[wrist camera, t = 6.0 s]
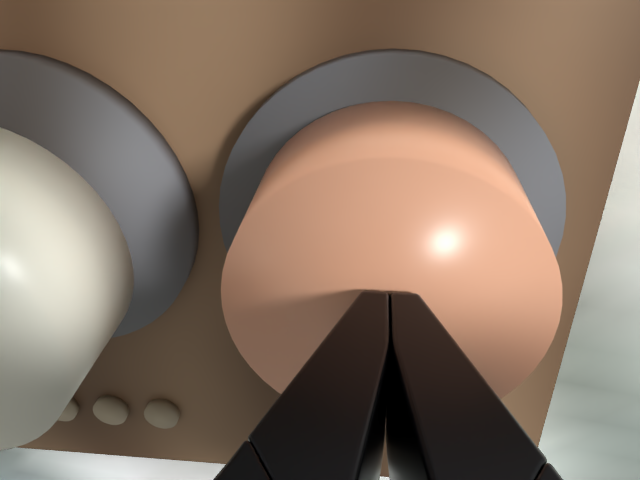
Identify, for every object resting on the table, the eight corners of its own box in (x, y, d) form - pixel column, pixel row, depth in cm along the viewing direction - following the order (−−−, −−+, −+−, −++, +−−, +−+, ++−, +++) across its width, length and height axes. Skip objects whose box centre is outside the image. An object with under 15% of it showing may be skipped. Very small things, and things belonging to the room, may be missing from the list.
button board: (642, -86, 9) (702, -85, 7) (514, 440, 16) (530, 505, 14) (-483, -56, 11) (-639, -51, 10) (-173, 392, 18) (-231, 442, 16)
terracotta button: (550, 101, 9) (601, 161, 7) (503, 341, 11) (529, 437, 9) (242, 99, 9) (199, 154, 7) (264, 329, 12) (237, 418, 10)
